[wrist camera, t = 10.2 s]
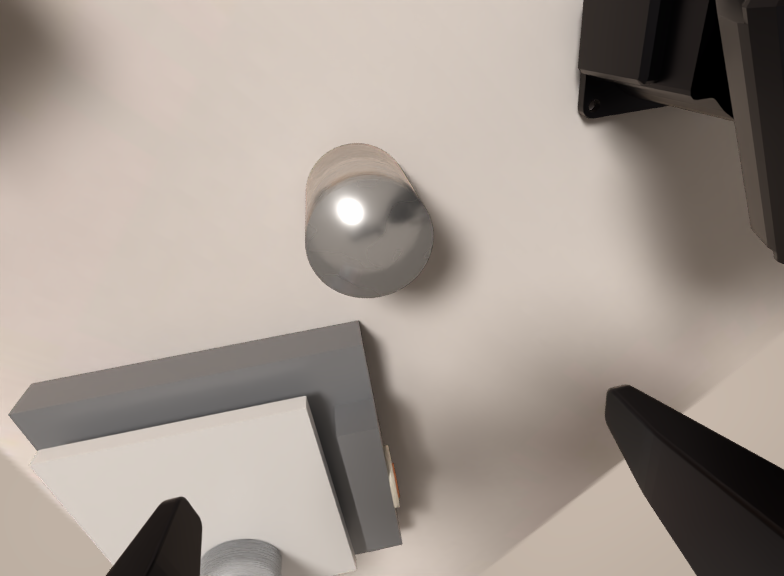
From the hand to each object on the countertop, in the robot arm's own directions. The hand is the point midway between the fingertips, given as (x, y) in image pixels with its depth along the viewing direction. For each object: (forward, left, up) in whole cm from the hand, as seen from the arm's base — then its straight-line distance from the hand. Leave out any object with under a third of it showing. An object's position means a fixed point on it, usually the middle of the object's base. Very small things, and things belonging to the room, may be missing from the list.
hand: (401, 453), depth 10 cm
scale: (+9, +14, -13) cm, 21 cm away
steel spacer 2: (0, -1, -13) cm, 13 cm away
